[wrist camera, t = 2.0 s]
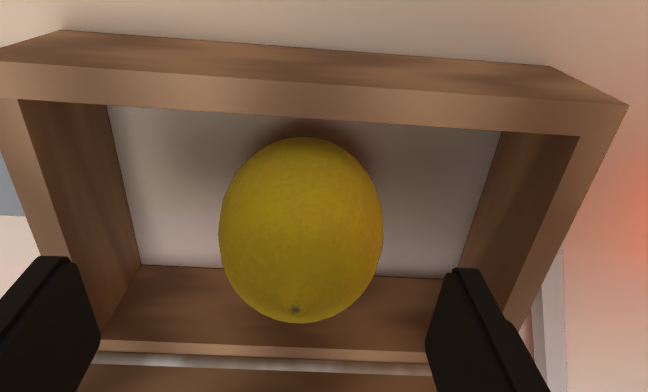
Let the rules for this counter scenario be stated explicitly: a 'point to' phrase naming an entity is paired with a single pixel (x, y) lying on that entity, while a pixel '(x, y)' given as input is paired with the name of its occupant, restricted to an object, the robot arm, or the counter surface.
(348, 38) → the counter surface
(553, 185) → the case
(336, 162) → the lemon
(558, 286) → the caliper
